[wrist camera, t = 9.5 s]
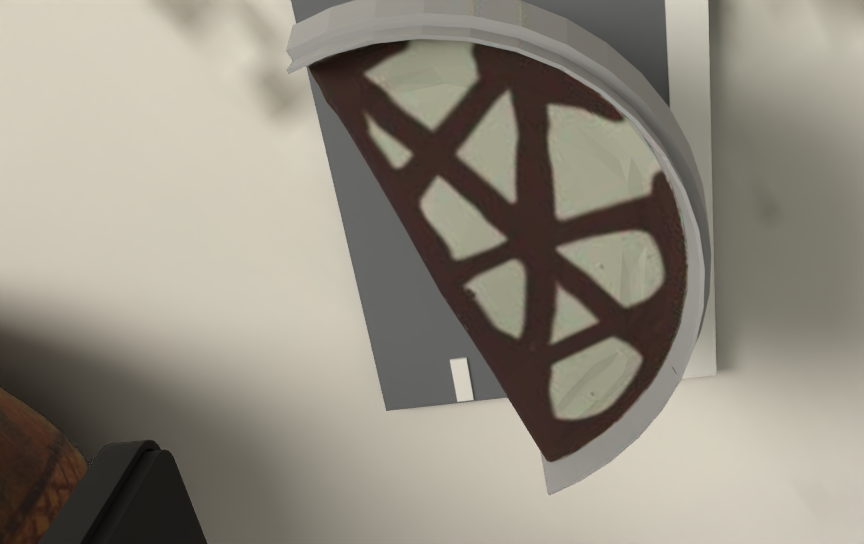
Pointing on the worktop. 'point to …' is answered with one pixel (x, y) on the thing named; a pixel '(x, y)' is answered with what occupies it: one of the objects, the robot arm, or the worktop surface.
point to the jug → (33, 471)
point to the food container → (531, 203)
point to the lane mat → (400, 261)
